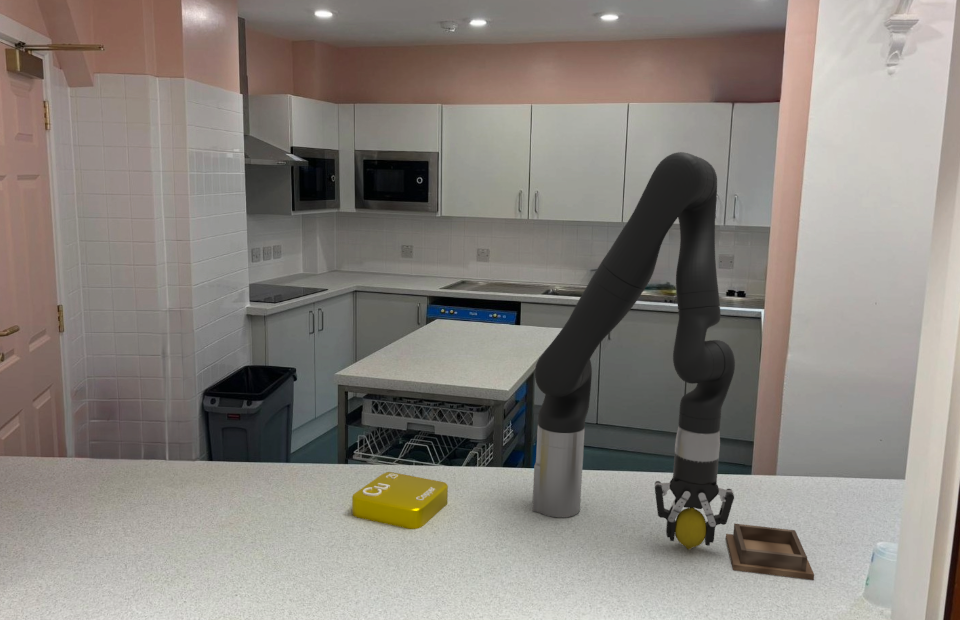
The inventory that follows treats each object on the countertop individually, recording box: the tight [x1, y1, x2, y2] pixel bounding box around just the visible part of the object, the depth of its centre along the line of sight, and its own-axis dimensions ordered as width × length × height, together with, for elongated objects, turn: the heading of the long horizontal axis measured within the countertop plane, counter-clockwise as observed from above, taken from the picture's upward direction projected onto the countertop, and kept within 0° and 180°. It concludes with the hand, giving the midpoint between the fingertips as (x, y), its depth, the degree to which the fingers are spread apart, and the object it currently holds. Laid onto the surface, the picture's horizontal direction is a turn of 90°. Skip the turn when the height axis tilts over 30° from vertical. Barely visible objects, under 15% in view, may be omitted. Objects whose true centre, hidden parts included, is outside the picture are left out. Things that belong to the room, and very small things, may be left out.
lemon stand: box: [725, 522, 815, 581], centre depth 136 cm, size 13×12×4 cm
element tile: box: [351, 471, 449, 530], centre depth 152 cm, size 15×15×5 cm
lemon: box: [675, 507, 706, 550], centre depth 139 cm, size 6×6×8 cm
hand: (689, 541), depth 139 cm, fingers closed on lemon, 5 cm apart
